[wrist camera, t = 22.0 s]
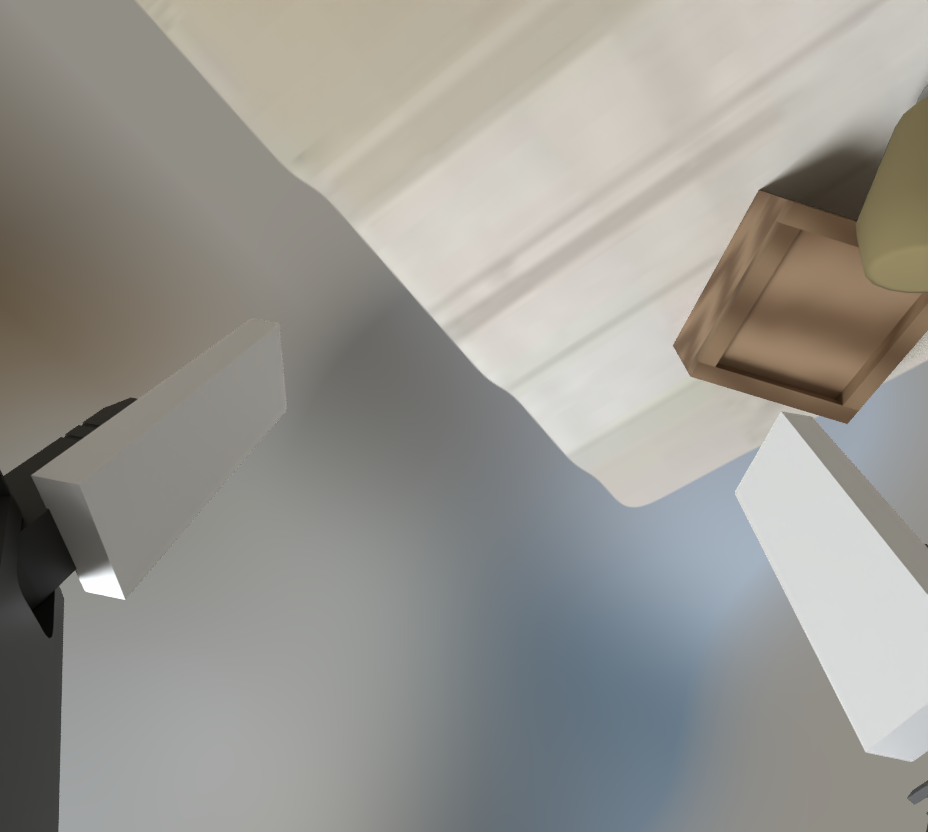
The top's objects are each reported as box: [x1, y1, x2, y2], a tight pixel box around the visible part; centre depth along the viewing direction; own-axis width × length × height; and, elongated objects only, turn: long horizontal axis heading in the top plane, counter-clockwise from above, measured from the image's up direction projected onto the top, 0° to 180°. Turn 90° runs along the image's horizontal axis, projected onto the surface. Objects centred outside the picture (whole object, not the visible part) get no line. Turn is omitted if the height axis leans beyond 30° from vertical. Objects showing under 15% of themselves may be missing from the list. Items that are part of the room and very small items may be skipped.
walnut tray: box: [673, 190, 928, 424], centre depth 43 cm, size 15×15×7 cm
